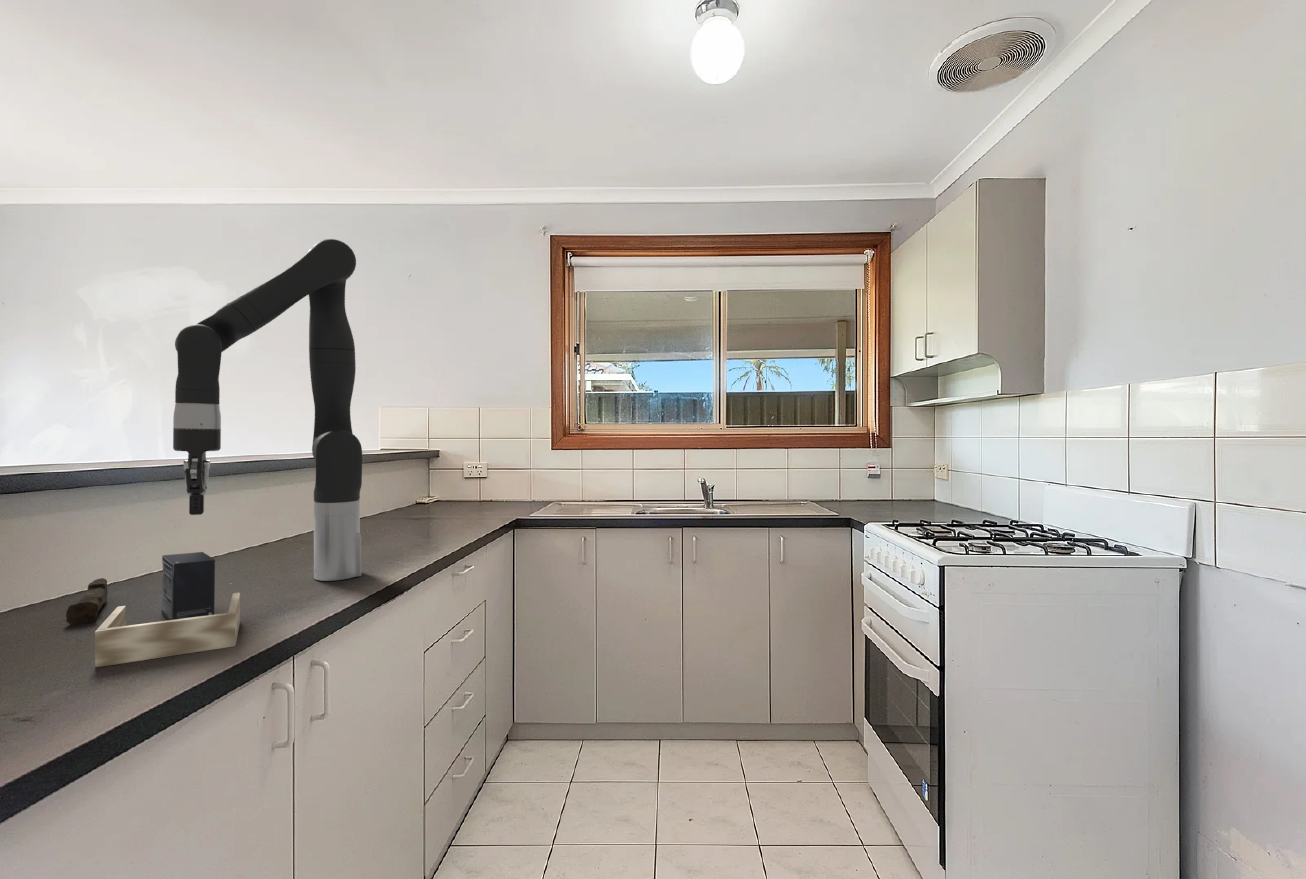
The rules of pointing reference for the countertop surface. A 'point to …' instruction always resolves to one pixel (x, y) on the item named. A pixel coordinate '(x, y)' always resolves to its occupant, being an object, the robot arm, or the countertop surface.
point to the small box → (188, 585)
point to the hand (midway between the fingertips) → (196, 514)
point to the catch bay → (164, 636)
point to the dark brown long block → (88, 603)
